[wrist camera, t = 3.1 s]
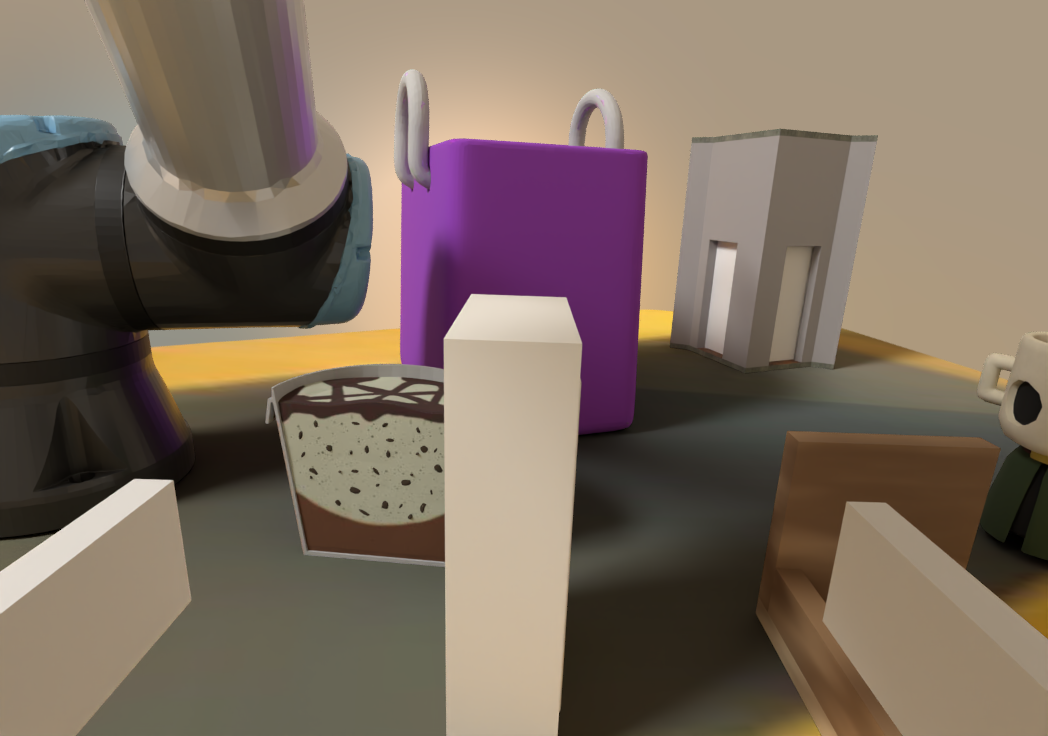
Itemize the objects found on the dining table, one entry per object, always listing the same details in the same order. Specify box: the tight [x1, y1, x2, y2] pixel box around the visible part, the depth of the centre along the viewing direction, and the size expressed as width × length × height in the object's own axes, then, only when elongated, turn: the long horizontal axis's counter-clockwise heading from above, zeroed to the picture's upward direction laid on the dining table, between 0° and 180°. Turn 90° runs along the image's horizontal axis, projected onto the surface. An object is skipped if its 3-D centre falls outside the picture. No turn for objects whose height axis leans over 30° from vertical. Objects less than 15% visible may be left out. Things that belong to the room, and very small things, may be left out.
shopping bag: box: [394, 69, 648, 435], centre depth 56 cm, size 28×22×30 cm
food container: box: [265, 364, 445, 567], centre depth 34 cm, size 12×6×10 cm, turn 85°
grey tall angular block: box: [670, 129, 878, 373], centre depth 72 cm, size 21×10×28 cm, turn 64°
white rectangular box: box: [444, 294, 582, 736], centre depth 23 cm, size 8×4×16 cm, turn 179°
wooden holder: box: [756, 431, 1001, 736], centre depth 21 cm, size 14×9×10 cm, turn 179°
